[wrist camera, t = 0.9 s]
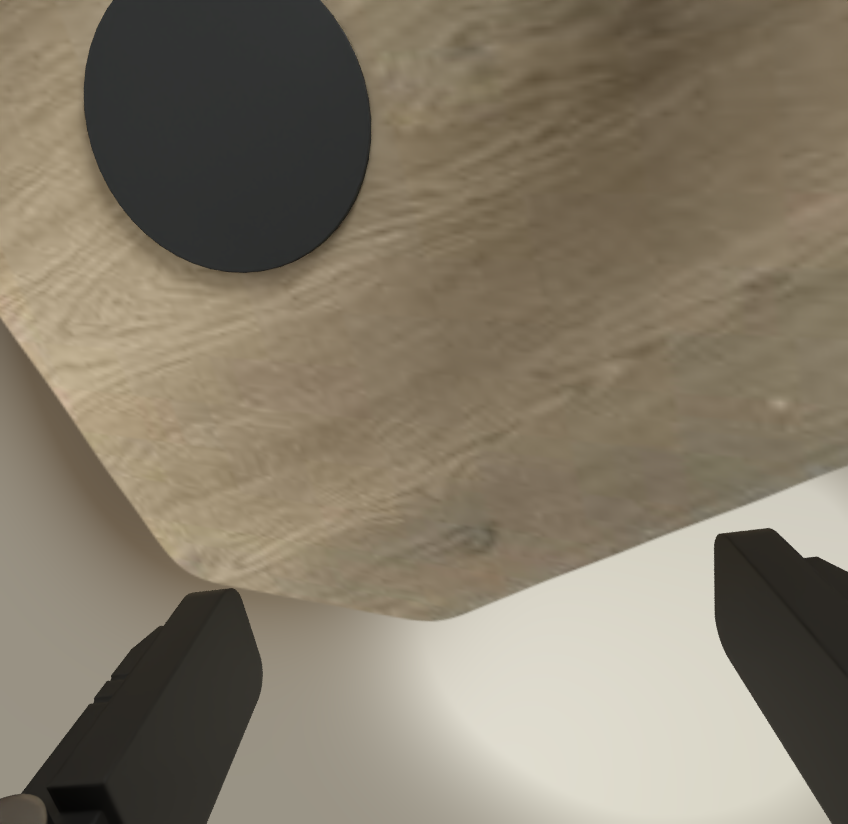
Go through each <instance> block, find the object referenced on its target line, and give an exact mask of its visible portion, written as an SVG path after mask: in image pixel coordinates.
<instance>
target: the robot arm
mask: <svg viewBox="0 0 848 824" xmlns="http://www.w3.org/2000/svg"><path fill="white" fill-rule="evenodd" d="M714 572H715V573H714V575H715V576H714V579H715V581H714V584H715V586H714V587H715V621H716V626H717V630H718V635H719V638H720V641H721V644H722V646H723V648H724V651H725V653H726V655H727V657H728V658H729V660H730V661H731V663H732V665H733V666H734V668H735V670H736V671H737V673H738V674H739V676H740V677H741V679H742V681H743V682H744V684H745V685H746V687H747V689H748V690H749V692H750V693H751V695H752V697H753V698H754V700H755V701H756V703H757V705H758V706H759V708H760V709H761V711H762V713H763V714H764V716H765V717H766V719H767V721H768V722H769V724H770V725H771V727H772V729H773V730H774V732H775V733H776V735H777V737H778V738H779V740H780V741H781V743H782V744H783V746H784V748H785V749H786V751H787V752H788V754H789V756H790V757H791V759H792V761H793V762H794V764H795V765H796V767H797V768H798V770H799V772H800V773H801V775H802V777H803V778H804V780H805V781H806V783H807V785H808V786H809V788H810V789H811V791H812V793H813V794H814V796H815V797H816V799H817V801H818V802H819V804H820V805H821V807H822V809H823V810H824V812H825V813H826V815H827V817H828V818H829V820H830V821H831V823H832V824H848V572H847V571H845V570H843V569H841V568H839V567H836V566H835V565H833V564H831V563H829V562H827V561H825V560H823V559H821V558H819V557H809V558H803V557H802V556H801V555H800V554H799V553H798V552H797V551H796V550H795V549H794V548H793V547H792V546H791V545H790V544H789V543H788V542H786V540H784V539H783V538H782V537H781V536H780V535H779V534H778V533H777V532H776V531H774V530H773V529H770V528H766V529H757V530H748V531H739V532H731V533H722V534H718V535H717V537H716V539H715V544H714ZM262 677H263V671H262V662H261V658H260V654H259V651H258V648H257V645H256V642H255V639H254V635H253V632H252V629H251V626H250V623H249V620H248V617H247V614H246V611H245V608H244V605H243V602H242V599H241V597H240V594H239V593H238V592H237V591H236V590H235V589H233V588H229V589H220V590H212V591H203V592H195V593H190V594H188V595H186V596H185V597H184V599H183V600H182V601H181V603H180V604H179V605H178V607H177V608H176V610H175V611H174V612H173V614H172V615H171V617H170V618H169V619H168V621H167V622H166V624H165V625H164V626H159V627H158V628H157V629H155V630H154V631H153V632H152V633H151V634H149V635H148V636H147V637H146V638H145V639H143V640H142V641H141V642H140V643H139V644H137V645H136V646H135V647H134V648H132V649H131V650H130V652H129V653H128V654H127V656H126V657H125V658H124V660H123V661H122V662H121V663H120V665H119V666H118V668H117V669H116V670H115V671H114V673H113V674H112V675H111V681H107V682H106V683H105V684H104V686H103V687H102V688H101V690H100V691H99V692H98V694H97V695H96V696H95V698H94V703H93V704H89V705H88V707H87V708H86V709H85V711H84V712H83V713H82V715H81V716H80V717H79V718H78V720H77V721H76V722H75V724H74V725H73V726H72V728H71V729H70V730H69V732H68V733H67V734H66V735H65V737H64V738H63V739H62V741H61V742H60V743H59V745H58V746H57V747H56V749H55V750H54V751H53V753H52V754H51V755H50V756H49V758H48V759H47V760H46V762H45V763H44V764H43V766H42V767H41V768H40V770H39V771H38V772H37V773H36V775H35V776H34V777H33V779H32V780H31V781H30V783H29V784H28V785H27V787H26V788H25V789H24V791H23V792H22V793H21V794H17V795H12V796H8V797H4V798H1V799H0V824H207V821H208V819H209V816H210V814H211V812H212V809H213V807H214V804H215V802H216V800H217V797H218V795H219V792H220V790H221V788H222V785H223V783H224V780H225V778H226V775H227V773H228V771H229V768H230V766H231V763H232V761H233V759H234V756H235V754H236V752H237V749H238V747H239V744H240V742H241V740H242V737H243V735H244V732H245V730H246V728H247V725H248V723H249V720H250V718H251V716H252V713H253V711H254V708H255V706H256V704H257V701H258V699H259V695H260V692H261V687H262Z"/></svg>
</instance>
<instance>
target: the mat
mask: <svg viewBox="0 0 848 824" xmlns="http://www.w3.org/2000/svg"><path fill="white" fill-rule="evenodd" d="M84 111H85V118H86V125H87V131H88V135H89V139H90V143H91V147H92V151H93V153H94V156H95V159H96V161H97V164H98V167H99V169H100V171H101V173H102V175H103V177H104V179H105V181H106V183H107V185H108V187H109V189H110V191H111V192H112V194H113V195H114V197H115V198H116V200H117V202H118V203H119V205H120V206H121V207H122V208H123V210H124V211H125V212H126V213H127V215H128V216H129V217H130V218H131V220H132V221H133V222H134V223H135V224H136V225H137V226H138V227H139V228H140V229H141V230H142V231H143V232H144V233H145V234H146V235H148V236H149V237H150V238H151V239H153V240H154V241H155V242H157V243H158V244H159V245H160V246H162V247H163V248H165V249H167V250H168V251H170V252H172V253H173V254H175V255H176V256H178V257H181V258H183V259H185V260H187V261H189V262H191V263H194V264H197V265H200V266H203V267H206V268H209V269H214V270H220V271H225V272H240V273H247V272H258V271H265V270H269V269H273V268H277V267H281V266H284V265H286V264H289V263H291V262H294V261H296V260H298V259H300V258H302V257H303V256H305V255H307V254H309V253H310V252H312V251H313V250H314V249H316V248H317V247H318V246H320V245H321V244H322V243H323V242H325V241H326V240H327V239H328V238H329V237H330V235H331V234H332V233H333V232H334V231H335V230H336V229H337V228H338V227H339V225H340V224H341V223H342V221H343V220H344V219H345V217H346V216H347V214H348V213H349V211H350V209H351V207H352V205H353V204H354V202H355V200H356V198H357V196H358V193H359V190H360V188H361V185H362V183H363V180H364V176H365V172H366V168H367V164H368V160H369V152H370V144H371V115H370V106H369V98H368V94H367V89H366V85H365V80H364V77H363V74H362V71H361V68H360V65H359V63H358V60H357V57H356V55H355V53H354V51H353V49H352V47H351V45H350V43H349V41H348V39H347V37H346V35H345V33H344V32H343V30H342V29H341V27H340V26H339V24H338V23H337V21H336V19H335V18H334V16H333V15H332V14H331V13H330V11H329V10H328V9H327V8H326V7H325V5H324V4H323V3H322V2H321V1H320V0H113V1H112V3H111V4H110V6H109V7H108V8H107V10H106V12H105V14H104V15H103V17H102V19H101V21H100V23H99V25H98V27H97V29H96V32H95V35H94V38H93V41H92V43H91V46H90V50H89V55H88V59H87V64H86V70H85V80H84Z"/></svg>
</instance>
